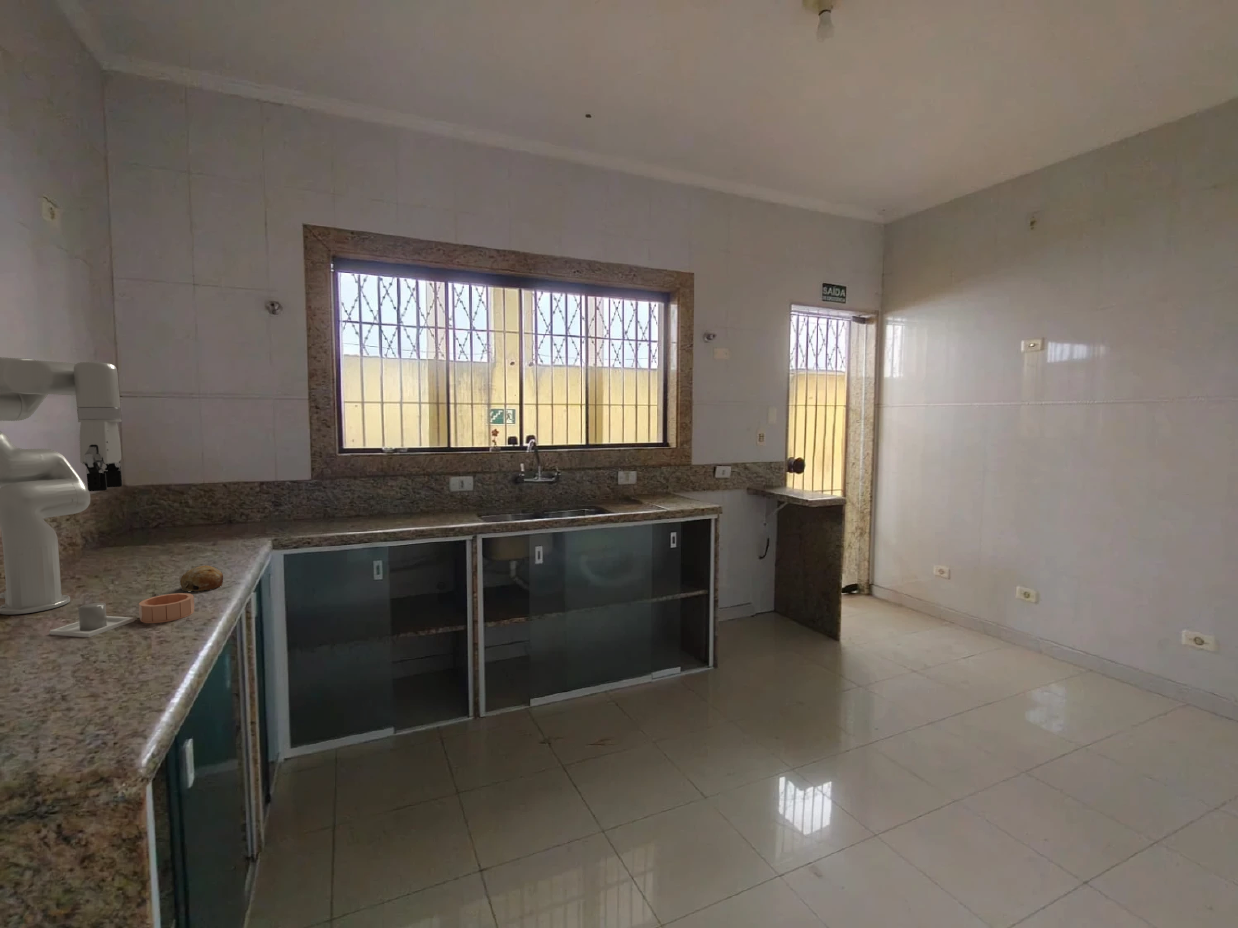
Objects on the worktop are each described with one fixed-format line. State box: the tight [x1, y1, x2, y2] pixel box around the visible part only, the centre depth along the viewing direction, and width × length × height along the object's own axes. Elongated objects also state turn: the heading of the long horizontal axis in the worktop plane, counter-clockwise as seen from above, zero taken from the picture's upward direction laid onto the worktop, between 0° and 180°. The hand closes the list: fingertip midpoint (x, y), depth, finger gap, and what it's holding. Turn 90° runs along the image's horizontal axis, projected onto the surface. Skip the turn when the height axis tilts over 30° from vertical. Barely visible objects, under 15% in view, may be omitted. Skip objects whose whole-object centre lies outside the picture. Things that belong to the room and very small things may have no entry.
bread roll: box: [179, 565, 224, 592], centre depth 160 cm, size 10×10×8 cm
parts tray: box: [49, 615, 136, 638], centre depth 128 cm, size 10×10×1 cm
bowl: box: [138, 592, 195, 624], centre depth 136 cm, size 10×10×4 cm
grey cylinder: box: [77, 602, 107, 631], centre depth 127 cm, size 4×4×5 cm
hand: (106, 488), depth 133 cm, fingers open, 9 cm apart
